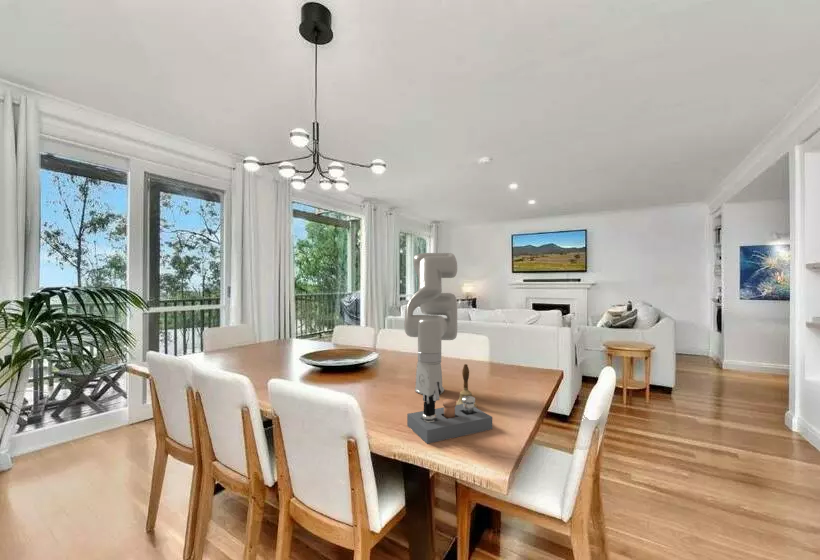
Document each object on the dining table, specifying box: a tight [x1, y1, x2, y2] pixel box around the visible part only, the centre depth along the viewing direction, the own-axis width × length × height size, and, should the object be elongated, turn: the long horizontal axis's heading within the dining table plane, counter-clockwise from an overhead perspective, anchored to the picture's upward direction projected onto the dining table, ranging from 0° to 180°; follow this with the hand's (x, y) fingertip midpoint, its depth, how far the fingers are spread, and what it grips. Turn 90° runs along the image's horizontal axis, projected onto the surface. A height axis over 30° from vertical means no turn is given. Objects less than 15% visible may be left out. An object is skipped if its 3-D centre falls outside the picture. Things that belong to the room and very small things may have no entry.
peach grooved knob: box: [442, 398, 457, 419], centre depth 117 cm, size 4×4×5 cm
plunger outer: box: [422, 413, 436, 423], centre depth 114 cm, size 4×4×5 cm
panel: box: [406, 404, 493, 445], centre depth 117 cm, size 14×24×4 cm, turn 115°
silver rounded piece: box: [462, 395, 476, 415], centre depth 120 cm, size 4×4×5 cm
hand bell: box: [456, 363, 478, 409], centre depth 136 cm, size 8×8×16 cm
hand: (429, 414), depth 113 cm, fingers closed
